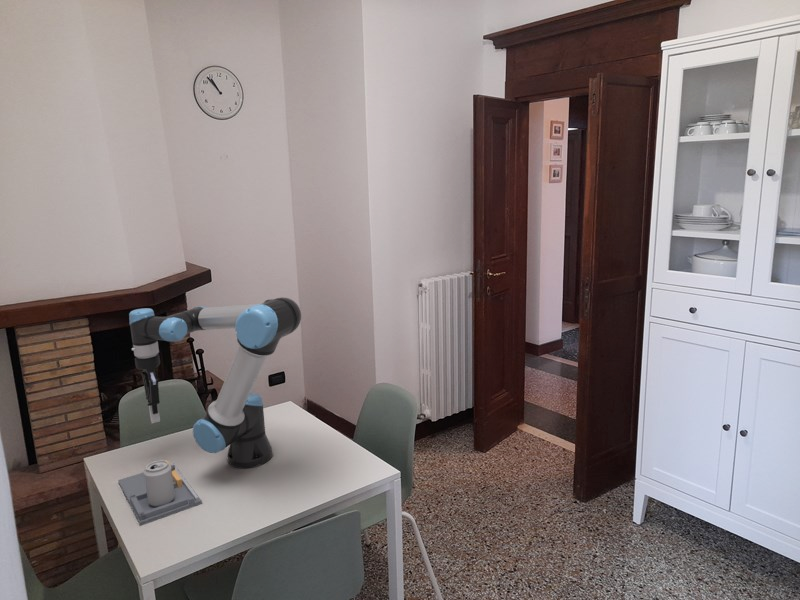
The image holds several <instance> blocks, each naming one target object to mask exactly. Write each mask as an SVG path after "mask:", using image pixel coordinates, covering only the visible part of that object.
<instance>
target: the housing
mask: <svg viewBox="0 0 800 600" xmlns="http://www.w3.org/2000/svg"><path fill="white" fill-rule="evenodd" d="M169 463H170V464H171V465H174V466H175V471H176V472H177V474H178V475H179V476H180V478H181V479H182V486H181V487H177V486H176V483H175V482H174V481H173V485H174V492H175V497H174V499H173V500H172V501H171V502H170V503H168V504H165V505H162V506H160V507H155V506H152V505H150V504H149V503H148V498H147V491H146V484H145V477H144V471H143V472H140V473H136V474H134V475H131V476H130V475H129V476H126V477H123V478H120V479H118V484H119V486H120V488H121V491H122V492H123V493H124V497H125V498H126V500H127V502H128V504H129V506H130V508H131V510H132V512H133V514H134V516H135V518H136V519H137V522H138V523H139V525H140V527H141V526H143V525H146V524H149V523H152V522H154V521H158V520H159V519H163V518H166V517H168V516H171V515H174V514H177V513H180V512H183V511H185V510H188V509H190V508H193V507H196V506H199V505H202V504H203V502H202V499H201V497H199V495H198V494H197V492H196V491H195V490H194V489H193V487H192V486H191V485H190V483H189V482H188V481H187V479H186V478H185V477H184V475H183V474H182V472H181V471H180V470H179V469H178V467H177V466H176V465H175V463H174V462H172V461H169Z"/></svg>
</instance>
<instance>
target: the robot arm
mask: <svg viewBox="0 0 800 600" xmlns="http://www.w3.org/2000/svg"><path fill="white" fill-rule="evenodd" d="M128 316H129V318H128V319H129V326H130V334H131V341H132V348H131V351H133V355H134V357H135V358H134V364H135V368H136V369H137V370H141V373H140V374H141V377H142V382H143V387H144V392H145V399H146V400H147V406H148V409H149V417H150V423H151V424H154V423H158V422H161V417H160V416H161V415H160V407H159V404H160V393H159V392H160V391H159V378H158V373H157V371H155V368H158V367H159V366H160V365H161V358H160V354H159V353H160V349H159V342H158V341H166V342H170V343H171V342H180V341H182V340H183V339H184V338H185V337H186V336H187V335H188V334H191V333H194V332H197V331H209V330H211V331H212V330H213V331H214V330H226V329H227V330H228V329H229V330H230V329H235V332H236V333H235V335H236V342H237V344H238V345H239V346H238V348H237V351H236V353H235V355H234V357H233V360H232V363H231V365H230V368H229V370H228V372H227V375H226V377H225V379H224V382H223V384H222V387H221V388H220V391H219V394H218V396H217V399H216V400H213V401H212V402H211V403H210V404H209V405H208V407H207V409H206V412H205V414H204V416H203V417H202V418H200V419H198V420H197V421H196V422H194V424H193V426H192V435H193V438H194V440H195V442H196V444H197V445H198V447H200V449H202V450H203V451H204V452H207V453H209V454H217V453H219V452H221V451H223V450H225V449H227V447H228V452H227V463H228V465H229V466H231V467H233V468H239V469H247V468H248V469H249V468H253V467H257V466H261V465H263V464H265V463H267V462H268V461H270V460H271V459H272V457H273V454H274V453H273V448H272V444H271V443H270V440H269V439H268V437H267V434H266V426H265V413H264V403H263V398H262V396H261V395H260V394H258V393H255V392H252V390H253V387H254V385H255V383H256V380H257V379H258V376H259V374H260V372H261V370H262V369H263V368H262V367H263V366H264V363H265V362H266V359H267V357H269V356H272V355H273V354H274V353H275V352H276V348H277V347H278V344H279V342H280V340H281V339H282V338H284V337H286V336H288V335H290V334H292V333H293V332H295V331H296V330H297V329H298V327H299V326H300V324H301V321H302V312H301V308H300V306H299V305H298V303H296V302H295V300H293V299H291V298H288V297H276V298H272V299H267V300H264V301H263V302H262V303H250V304H249V303H248V304H237V305H226V306H211V307H207V306H204V305H203V306H202V305H201V306H197V307H196V306H195V307H193V308H191V309H188V310H184V311H182V312H177V313H174V314H171V315H168V316H156V315H155V311H154V310H153V309H152V308H149V307H148V308H146V307H145V308H143V307H142V308H137V309H133V310H131V311H130V312H129V313H128Z"/></svg>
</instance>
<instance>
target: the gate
mask: <svg viewBox="0 0 800 600" xmlns="http://www.w3.org/2000/svg"><path fill="white" fill-rule="evenodd" d="M163 460H164V461H167V462H168V464H169V465H170V466H171V469H172V477H173V481H174V482H175V483H176V486H177V487H181V486H182V479H181V478H180V476H179V475H178V474H177V472H176V471H175V466H176V465H175V464H174V465H175V466H174V465H171V464H170V463H169V462H170V461H169V460H168V459H163Z"/></svg>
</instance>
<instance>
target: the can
mask: <svg viewBox="0 0 800 600" xmlns="http://www.w3.org/2000/svg"><path fill="white" fill-rule="evenodd" d="M164 460H165V459H161V460H155V461H152V462H150V463H148V464H147V465H146V466H145V469H144V471H143V472H144V477H145V484H146V491H147V498H148V503H149V504H150V505H152V506H155V507H160V506H162V505H165V504H168V503H170V502H171V501H172V500H173V499H174V497H175V492H174V485H173V477H172V469H171V466H170V465H169V464H168V462H167V461H164Z"/></svg>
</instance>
